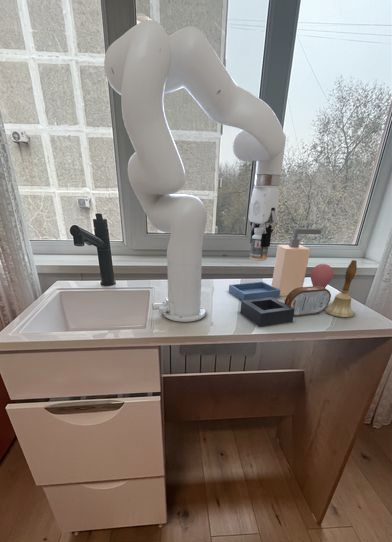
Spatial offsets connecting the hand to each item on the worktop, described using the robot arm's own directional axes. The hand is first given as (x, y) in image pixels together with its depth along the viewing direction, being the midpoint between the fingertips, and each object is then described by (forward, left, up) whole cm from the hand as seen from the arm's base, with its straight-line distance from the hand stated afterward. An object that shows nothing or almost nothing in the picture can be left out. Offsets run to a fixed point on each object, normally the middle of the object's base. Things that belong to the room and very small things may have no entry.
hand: (259, 244), depth 95 cm
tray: (0, 0, -17) cm, 17 cm away
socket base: (-8, -20, -17) cm, 28 cm away
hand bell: (+16, -24, -18) cm, 34 cm away
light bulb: (+19, -11, -18) cm, 28 cm away
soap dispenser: (+15, -2, -18) cm, 23 cm away
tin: (+5, -22, -18) cm, 28 cm away
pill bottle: (0, 0, -5) cm, 5 cm away
